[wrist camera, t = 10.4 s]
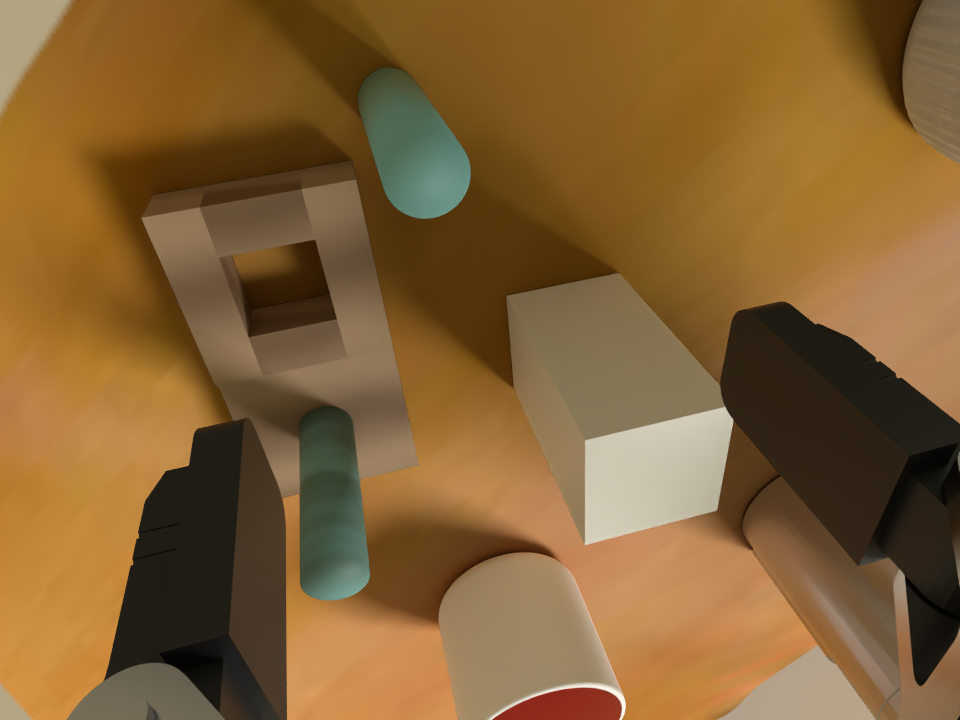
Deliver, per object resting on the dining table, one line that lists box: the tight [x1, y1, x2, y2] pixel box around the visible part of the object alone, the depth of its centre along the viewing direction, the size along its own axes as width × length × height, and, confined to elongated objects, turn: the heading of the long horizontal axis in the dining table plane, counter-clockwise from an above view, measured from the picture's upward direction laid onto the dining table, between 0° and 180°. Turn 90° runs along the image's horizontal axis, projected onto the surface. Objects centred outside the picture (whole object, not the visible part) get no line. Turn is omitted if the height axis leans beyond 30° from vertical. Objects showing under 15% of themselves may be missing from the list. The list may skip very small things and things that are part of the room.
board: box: [218, 348, 419, 600], centre depth 29 cm, size 8×8×11 cm
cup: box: [439, 552, 626, 720], centre depth 42 cm, size 10×10×10 cm
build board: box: [141, 160, 393, 386], centre depth 28 cm, size 8×8×2 cm
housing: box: [506, 273, 734, 545], centre depth 30 cm, size 6×6×11 cm
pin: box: [358, 67, 471, 219], centre depth 22 cm, size 3×3×9 cm
